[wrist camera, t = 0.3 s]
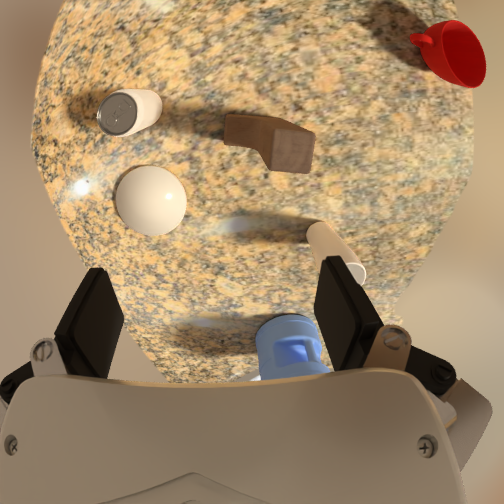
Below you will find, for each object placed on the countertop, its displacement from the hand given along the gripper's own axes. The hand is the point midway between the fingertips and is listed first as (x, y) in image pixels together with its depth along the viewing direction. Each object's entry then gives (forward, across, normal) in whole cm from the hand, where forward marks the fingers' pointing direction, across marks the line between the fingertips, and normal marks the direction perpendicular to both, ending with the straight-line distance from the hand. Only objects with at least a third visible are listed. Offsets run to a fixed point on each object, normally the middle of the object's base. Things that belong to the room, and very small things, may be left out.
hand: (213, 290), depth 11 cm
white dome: (+36, +13, +9) cm, 39 cm away
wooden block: (+36, -5, -2) cm, 36 cm away
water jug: (+36, -13, +46) cm, 60 cm away
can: (+36, +12, -7) cm, 38 cm away
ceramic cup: (+36, -38, -22) cm, 57 cm away
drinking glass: (+36, -18, +17) cm, 43 cm away
